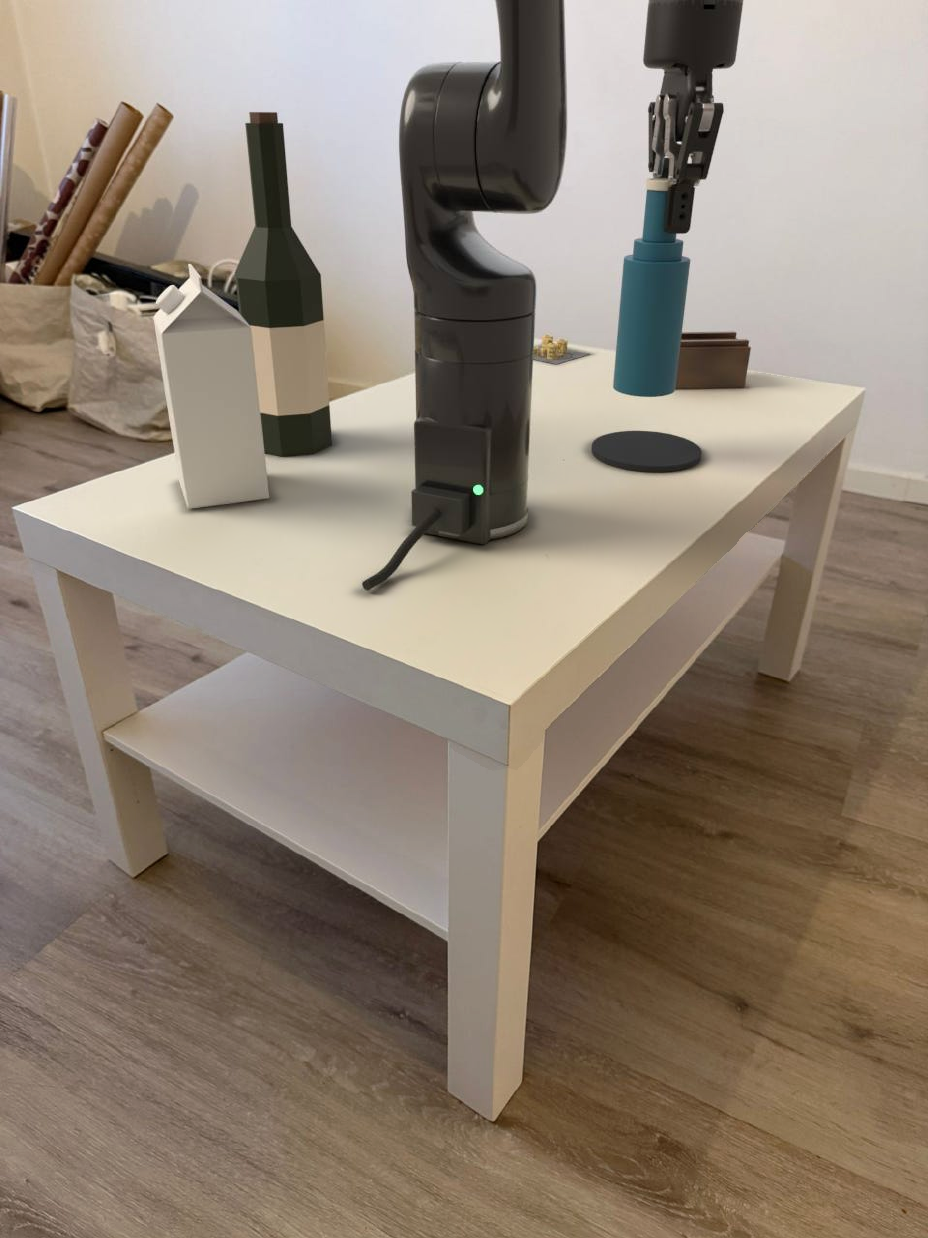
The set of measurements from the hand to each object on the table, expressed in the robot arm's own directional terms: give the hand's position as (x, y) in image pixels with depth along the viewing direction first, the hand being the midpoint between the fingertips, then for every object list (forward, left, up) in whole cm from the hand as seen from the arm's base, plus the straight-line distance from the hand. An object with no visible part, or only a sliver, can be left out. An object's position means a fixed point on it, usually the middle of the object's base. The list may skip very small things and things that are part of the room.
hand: (670, 229), depth 82 cm
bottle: (+1, -2, -5) cm, 6 cm away
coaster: (0, 0, -21) cm, 21 cm away
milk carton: (-27, +32, -21) cm, 47 cm away
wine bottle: (-13, +34, -21) cm, 42 cm away
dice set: (+35, +23, -21) cm, 47 cm away
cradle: (+30, +1, -21) cm, 37 cm away
